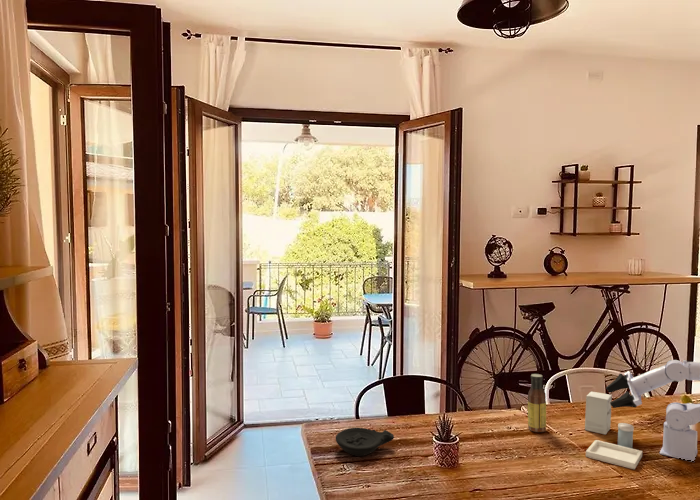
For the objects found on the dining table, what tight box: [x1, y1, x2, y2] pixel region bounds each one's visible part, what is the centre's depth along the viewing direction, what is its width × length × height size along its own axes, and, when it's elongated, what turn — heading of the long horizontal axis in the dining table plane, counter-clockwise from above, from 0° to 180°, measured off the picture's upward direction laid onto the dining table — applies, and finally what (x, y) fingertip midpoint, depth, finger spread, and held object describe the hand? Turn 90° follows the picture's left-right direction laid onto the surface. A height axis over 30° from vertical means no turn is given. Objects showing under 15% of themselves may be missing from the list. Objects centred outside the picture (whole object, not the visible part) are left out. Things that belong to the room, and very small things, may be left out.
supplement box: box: [584, 391, 613, 435], centre depth 195 cm, size 7×7×13 cm
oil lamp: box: [335, 427, 395, 457], centre depth 174 cm, size 15×20×5 cm
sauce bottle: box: [527, 373, 547, 433], centre depth 193 cm, size 6×6×20 cm
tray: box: [585, 439, 643, 470], centre depth 172 cm, size 14×12×2 cm
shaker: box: [617, 422, 635, 449], centre depth 180 cm, size 5×5×7 cm
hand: (609, 397), depth 184 cm, fingers open, 7 cm apart
